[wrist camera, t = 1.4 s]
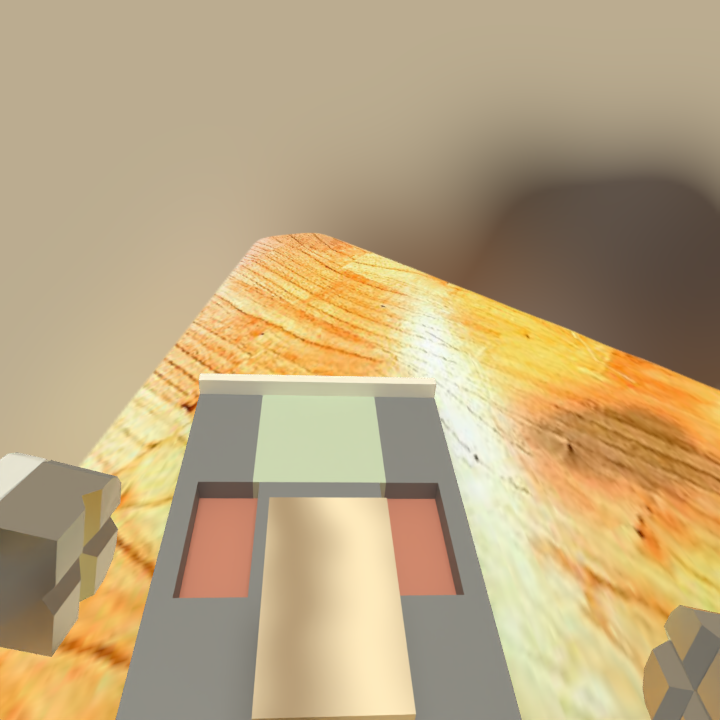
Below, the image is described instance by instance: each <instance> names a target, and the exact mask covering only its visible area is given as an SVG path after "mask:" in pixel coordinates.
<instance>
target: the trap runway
mask: <svg viewBox="0 0 720 720" xmlns="http://www.w3.org/2000/svg"><path fill="white" fill-rule="evenodd" d="M199 389H200V396H199V400H198V403H197V407H196V411H195V415H194V419H193V423H192V427H191V430H190V434H189V438H188V442H187V446H186V450H185V454H184V458H183V461H182V465H181V469H180V473H179V477H178V481H177V485H176V488H175V492H174V496H173V500H172V504H171V508H170V512H169V516H168V519H167V523H166V527H165V531H164V535H163V539H162V543H161V546H160V550H159V554H158V558H157V562H156V566H155V570H154V574H153V577H152V581H151V585H150V589H149V593H148V597H147V601H146V604H145V608H144V612H143V616H142V620H141V624H140V628H139V632H138V635H137V639H136V643H135V647H134V651H133V655H132V659H131V662H130V666H129V670H128V674H127V678H126V682H125V686H124V690H123V693H122V697H121V701H120V705H119V709H118V713H117V717H116V720H252V707H253V694H254V682H255V670H256V657H257V645H258V633H259V621H260V608H261V596H262V584H263V571H264V559H265V547H266V534H267V522H268V510H269V497H324V498H387V503H388V510H389V517H390V525H391V532H392V540H393V547H394V554H395V562H396V569H397V577H398V584H399V592H400V599H401V606H402V614H403V621H404V629H405V636H406V643H407V651H408V658H409V666H410V673H411V681H412V688H413V695H414V703H415V710H416V717H415V720H522V719H521V715H520V712H519V708H518V704H517V701H516V697H515V693H514V690H513V686H512V682H511V679H510V675H509V671H508V668H507V664H506V660H505V657H504V653H503V649H502V645H501V642H500V638H499V634H498V631H497V627H496V623H495V620H494V616H493V612H492V609H491V605H490V601H489V598H488V594H487V590H486V587H485V583H484V579H483V576H482V572H481V568H480V565H479V561H478V557H477V554H476V550H475V546H474V543H473V539H472V535H471V531H470V528H469V524H468V520H467V517H466V513H465V509H464V506H463V502H462V498H461V495H460V491H459V487H458V484H457V480H456V476H455V473H454V469H453V465H452V462H451V458H450V454H449V451H448V447H447V443H446V440H445V436H444V432H443V429H442V425H441V421H440V417H439V414H438V410H437V406H436V403H435V399H434V396H435V389H436V382H435V378H404V377H353V376H303V375H252V374H201V373H200V377H199Z"/></svg>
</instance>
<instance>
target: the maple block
mask: <svg viewBox="0 0 720 720" xmlns="http://www.w3.org/2000/svg"><path fill="white" fill-rule="evenodd" d="M415 717H416V710H415V703H414V695H413V688H412V681H411V673H410V666H409V658H408V651H407V643H406V636H405V629H404V621H403V614H402V606H401V599H400V592H399V584H398V577H397V569H396V562H395V554H394V547H393V540H392V532H391V525H390V517H389V510H388V503H387V498H324V497H269V510H268V522H267V534H266V547H265V559H264V571H263V584H262V596H261V608H260V621H259V633H258V645H257V657H256V670H255V682H254V694H253V707H252V720H415Z"/></svg>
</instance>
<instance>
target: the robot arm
mask: <svg viewBox="0 0 720 720" xmlns="http://www.w3.org/2000/svg"><path fill="white" fill-rule="evenodd" d="M120 496H121V482H120V480H119V479H118V477H116V476H112V475H108V474H104V473H100V472H96V471H92V470H88V469H84V468H80V467H76V466H72V465H68V464H64V463H60V462H56V461H52V460H51V461H49V460H47V459H43V458H39V457H35V456H31V455H26V454H21V453H10V454H7V455H5V456H4V457H3V458H2V459H0V647H4V648H9V649H14V650H19V651H25V652H30V653H35V654H40V655H45V656H50V657H52V655H53V654H54V653H55V651H56V650H57V648H58V647H59V645H60V644H61V642H62V641H63V639H64V638H65V637H66V635H67V634H68V632H69V631H70V629H71V628H72V626H73V625H74V623H75V622H76V621H77V619H78V611H79V602H80V601H82V600H84V599H86V598H88V597H90V596H92V595H94V594H95V593H96V591H97V589H98V588H99V586H100V585H101V583H102V582H103V580H104V578H105V576H106V573H107V571H108V569H109V566H110V564H111V562H112V559H113V555H114V551H115V547H116V541H117V531H118V529H117V527H116V525H115V524H114V522H113V520H112V519H111V517H110V516H111V514H112V513H113V512H114V510H115V509H116V508H117V507H118V505H119V504H120ZM664 627H665V630H666V633H667V636H668V639H669V640H668V641H667V642H665V643H663V644H661V645H660V646H658V647H656V648H655V649H653V650H652V652H651V654H650V656H649V659H648V661H647V663H646V666H645V668H644V679H643V692H644V698H645V704H646V707H647V709H648V712H649V714H650V717H651V719H652V720H720V613H715V612H710V611H706V610H701V609H696V608H692V607H687V606H682V605H679V606H678V607H677V608H676V609H675V610H674V611H672V612H671V614H670V616H669V618H668V620H667V622H666V623H665V625H664Z"/></svg>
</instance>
